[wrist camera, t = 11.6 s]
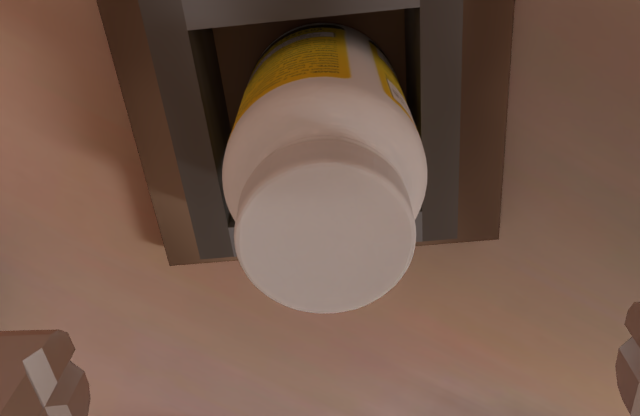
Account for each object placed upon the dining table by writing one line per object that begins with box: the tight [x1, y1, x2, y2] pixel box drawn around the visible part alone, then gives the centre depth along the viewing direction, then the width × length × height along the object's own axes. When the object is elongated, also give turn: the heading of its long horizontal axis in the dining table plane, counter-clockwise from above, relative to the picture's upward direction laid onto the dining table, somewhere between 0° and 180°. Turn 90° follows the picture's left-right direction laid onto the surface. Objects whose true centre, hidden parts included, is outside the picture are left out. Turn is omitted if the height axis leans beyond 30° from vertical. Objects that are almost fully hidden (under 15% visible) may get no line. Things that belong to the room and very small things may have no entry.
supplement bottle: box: [222, 23, 427, 314], centre depth 16 cm, size 5×5×10 cm
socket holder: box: [97, 0, 515, 266], centre depth 20 cm, size 14×14×5 cm
